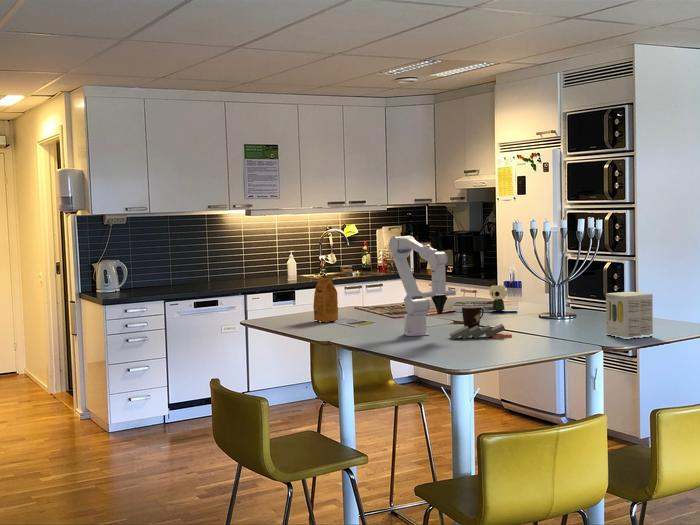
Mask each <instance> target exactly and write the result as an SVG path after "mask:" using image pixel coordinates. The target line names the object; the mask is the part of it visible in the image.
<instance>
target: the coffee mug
mask: <svg viewBox="0 0 700 525" xmlns="http://www.w3.org/2000/svg"><path fill="white" fill-rule="evenodd" d="M484 311H485V310H484V309H483V308H482V306H481V305H463V306H461V313H462V320H463V327H465V326H467V327H469V329H471V328H473V327H475V326H478V327H479V328H480V325H481V324H480V323H481V319H482V318H483V317H484ZM481 312H482V313H481Z"/></svg>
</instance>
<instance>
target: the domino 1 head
mask: <svg viewBox="0 0 700 525" xmlns="http://www.w3.org/2000/svg"><path fill="white" fill-rule="evenodd" d="M468 332H470V329H469V327H467V326H465V327H464V326H463V327H461V328H459V329H457V330H455V331H452V332H451V333H448V334H449V335H448V336H450V337H449V338H450V339H451V340H455V339H458V338H459V337H461V336H462V335H464V334H466V333H468Z"/></svg>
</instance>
